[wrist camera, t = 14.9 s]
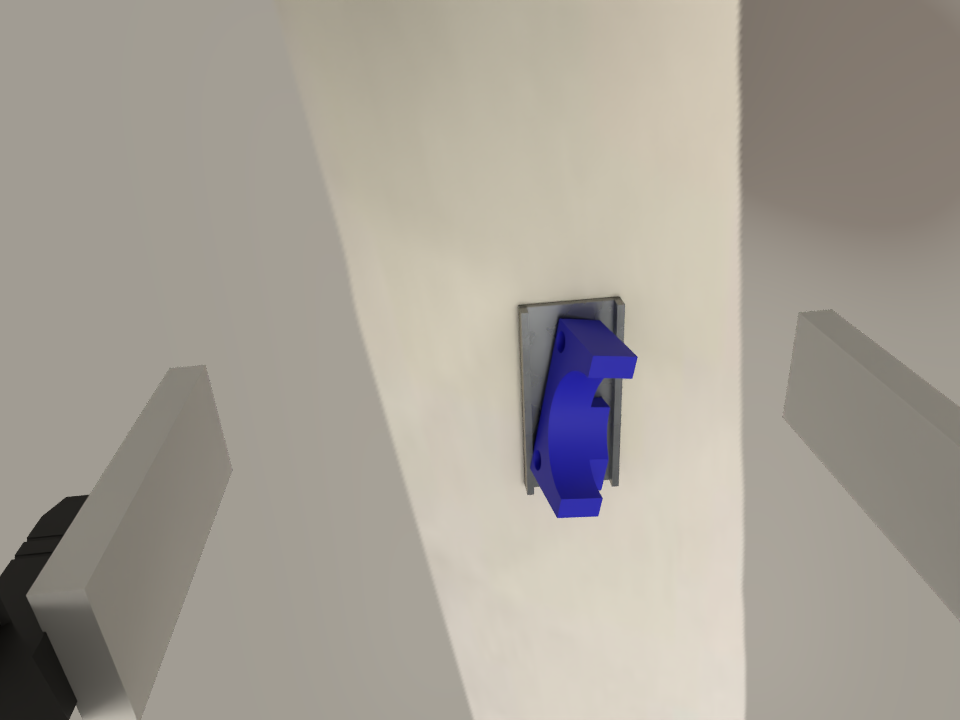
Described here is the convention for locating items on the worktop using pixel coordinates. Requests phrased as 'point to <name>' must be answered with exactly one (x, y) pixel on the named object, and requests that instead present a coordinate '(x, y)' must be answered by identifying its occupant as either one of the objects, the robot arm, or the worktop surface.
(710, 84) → the worktop surface
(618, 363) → the cable clip
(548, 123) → the worktop surface
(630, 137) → the worktop surface
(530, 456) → the rail
